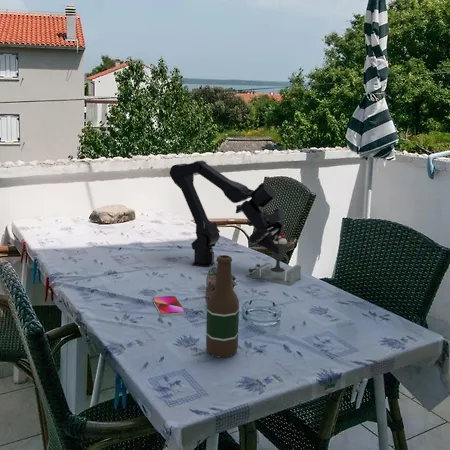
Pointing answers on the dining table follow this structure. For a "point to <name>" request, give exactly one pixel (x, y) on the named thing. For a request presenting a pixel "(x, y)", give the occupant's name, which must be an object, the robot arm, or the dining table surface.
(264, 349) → the dining table surface
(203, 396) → the dining table surface
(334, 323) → the dining table surface
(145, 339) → the dining table surface
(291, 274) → the vise
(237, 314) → the beer bottle
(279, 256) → the sundae
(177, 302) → the smartphone
